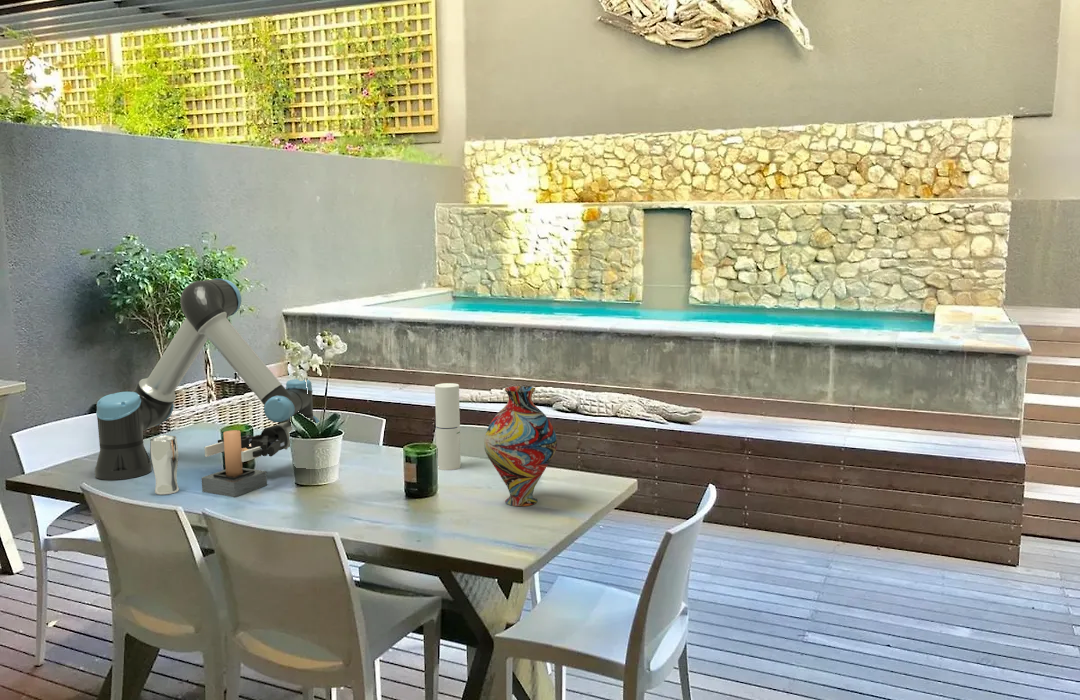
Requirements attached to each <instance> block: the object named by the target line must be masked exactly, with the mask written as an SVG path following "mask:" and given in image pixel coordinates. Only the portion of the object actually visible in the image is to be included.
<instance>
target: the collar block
mask: <svg viewBox="0 0 1080 700" xmlns="http://www.w3.org/2000/svg"><path fill="white" fill-rule="evenodd" d="M242 468H243V474H241V475H238V476H235V477H233V476H226V469H224V470H220V471H218V472H217V471H216V472H213V473H211V474H208V475H205V476H202V477H201V491H202V493H209V494H214V495H219V496H227V497H231V498H232V497H233V498H237V497H239V496H242V495H245V494H247V493H250V492H252V491H255V490H258V489H260V488H261V489H262V488H263V487H266V486H267V485H268V481H267V480H268V478H267V471H265V470H261V469H260V470H259V469H253V468H245V467H242Z"/></svg>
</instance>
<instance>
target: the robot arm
mask: <svg viewBox="0 0 1080 700" xmlns="http://www.w3.org/2000/svg"><path fill="white" fill-rule="evenodd" d="M179 303H180V307H181V308H180V309H181V310H182V313H183V314H184V317H185V319H184V320H183V322H182V323H181V325H180V327H179V328H178V330H177V332H176V333H175V335H174V337H173V338H172V339H171V341H170V343H169V344H168V346H167V347H166V349H165V351H164V352H163V354H162V355H161V357H160V358H159V360H158V362H157V363H156V364H155V366H154V368H153V370H152V371H151V373H150V374H149V376H148V377H147V378H142V379H140V380H139V381H138V383H137V385H136V386H135V388H134V389H133V391H121V392H119V391H118V392H115V393H110V394H107V395H104V396H102V397H101V398H100V399H98V400H97V402H96V411H95V412H96V413H95V414H96V417H97V431H98V432H97V433H98V441H99V442H98V444H99V453H98V457H97V460H96V465H95V467H94V475H95V476H94V477H95V478H96V479H99V480H104V481H105V480H108V481H112V480H113V481H117V480H126V479H127V480H128V479H132V478H133V479H134V478H137V477H141V476H144V475H147V474H149V473H151V472H152V470H153V466H152V462H151V458H150V455H149V454H148V452H147V450H146V447H145V444H144V436H143V435H144V433H143V432H144V431H146V430H149V429H151V428H154V427H157V426H160V425H161V424H163V423H164V422H166V421H167V420H168V419H169V418H170V417H171V416H172V413H173V411H174V407H175V406H174V405H175V404H174V402H175V401H176V398H177V395H176V393H175V391H176V389H178V386H179V385H180V384H181V382H182V381H183V379H184V377H185V375H186V374H187V372H188V371H189V369H190V368H191V367H192V365H193V363H194V362H195V359H196V358H197V357H198V355H199V354H200V352H201V350H202V349H203V347H204V346H205V344H206V343H207V341H208V340H209V341H210V343H211V344H212V345H213V347H214V348H215V349H216V350H217V351H218V352H219V353H220V355H221V356H222V357H223V358H224V359H225V361H226V362H227V363H228V364H229V365H230V366H231V367H232V369H233V370H234V371H235V372H236V374H237V375H238V376H239V378H241V379H242V380H243V382H244V383H245V384H246V385H247V387H248V388H250V391H252V393H254V395H255V396H256V397H257V398H258V399H259V401H260V402H261V403H262V404H263V406H264V407H263V412H264V415H265V416H266V419H268V420H269V421H271V422H273V423H277V424H274V425H272V426H269V427H265V428H264V429H263V430H262V431H261V433H260V434H255V435H252V434H247V435H242V436H241V449H247V450H244V451H243V450H242V452H241V458H242V463H244V462H248V461H252V460H254V459H257V458H260V457H262V456H263V457H266V456H269V457H273V456H275V455H276V454H277V453H278V452H279V451H282V450H286V451H287V450H288V449H289V448H291V447H290V440H289V436H290V434H289V432H290V431H291V430H292V427H291V422H290V416H291V417H292V416H294V415H296V414H297V413H301V414H303V415H304V416H305V417H307V418H311V419H312V420H313V422H315V423H318V422H320V419H319V418H318V417H317V416H315V415H314V410H313V409H314V407H313V405H314V404H313V387H312V381H311V380H309V379H307V387H308V394H307V388H306V382H305V380H303V381H299V380H298V379H299V378H293V379H290V380H287V381H286V383H285V386H284V385H283V384H282V383H281V382H280V381H279V379H278V378H277V377H276V376H275V374H274V373H273V372H272V371H271V370H270V368H269V367H268V366H267V365H266V364H265V362H264V361H263V360H262V359H261V358H260V357H259V355H257V353H256V352H255V351H254V349H253V348H252V347H251V346H250V345H249V343H248V342H247V341H246V340H245V339H244V338H243V336H242V335H241V334H240V333H239V332H238V331H237V329H236V328H235V326H233V325H232V323H231V322H230V321H229V320H228V318H229V317H231V316H233V315H235V314H236V313H237V312H238V311H239V309H240V307H241V305H242V295H241V291H240V290H239V288H238V286H236V284H235V283H233V282H232V281H230V280H228V279H226V278H224V279H223V278H213V279H205V280H196V281H193V282H191V283H189V284H187V286H186V287H185V288H184V289H183V290H182V293H181V296H180V302H179ZM298 411H299V412H298ZM203 448H204V457H205V458H207V457H210V456H214V455H217V454H220V453H222V454H223V453H224V454H225V451H224V438H223V439H218V440H217V443H213V444H210V445H206V446H204V447H203Z"/></svg>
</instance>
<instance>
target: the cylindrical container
mask: <svg viewBox="0 0 1080 700" xmlns="http://www.w3.org/2000/svg"><path fill="white" fill-rule="evenodd" d="M434 394H435V395H434V397H435V398H434V399H435V401H434V403H435V404H434V405H435V435H436V437H435V440H436V441H435V443H436V445H435V446H437V447H438V466H439V469H438V470H440V469H441V471H453V470H458V469H460V468H461V465H462V464H461V463H462V462H461V459H462V458H461V422H460V420H461V419H460V417H461V415H460V413H461V412H460V384H458V383H452V382H451V383H450V382H448V383H447V382H446V383H443V382H442V383H438V384H435V385H434Z"/></svg>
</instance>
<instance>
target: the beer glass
mask: <svg viewBox="0 0 1080 700" xmlns="http://www.w3.org/2000/svg"><path fill="white" fill-rule="evenodd" d="M149 441H150V445H149V446H150V447H149V449H150V450H149V451H150V452H149V454H150V455H149V456H150V461H151V465H152V470H153V474H154V477H155V478H154V479H155V486H154V487H155V488H154V493H155V494H156V495H159V496H164V495H165V496H166V495H173V494H175V493H177V492H179V490H180V488H179V485H178V479H177V477H178V476H177V474H178V464H179V447H178V446H179V445H178V439H177V436H175V435H158V436H154V437H152V438H150V439H149Z"/></svg>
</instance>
